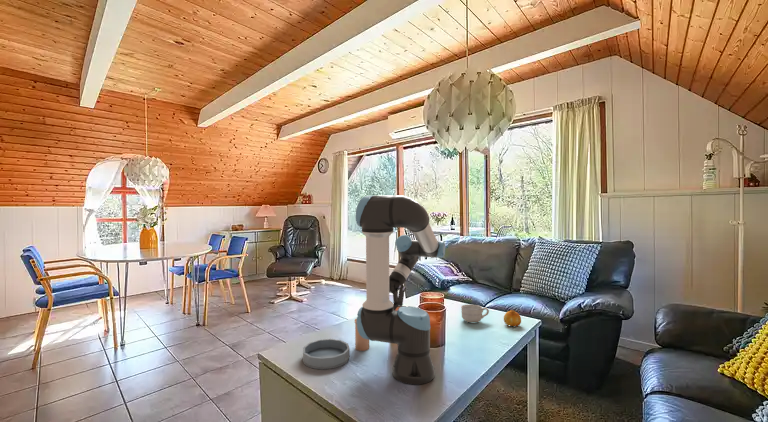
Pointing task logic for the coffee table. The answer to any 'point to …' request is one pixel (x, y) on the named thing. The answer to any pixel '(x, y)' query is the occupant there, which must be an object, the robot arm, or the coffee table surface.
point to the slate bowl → (326, 354)
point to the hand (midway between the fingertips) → (375, 314)
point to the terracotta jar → (360, 340)
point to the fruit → (512, 318)
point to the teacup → (473, 312)
